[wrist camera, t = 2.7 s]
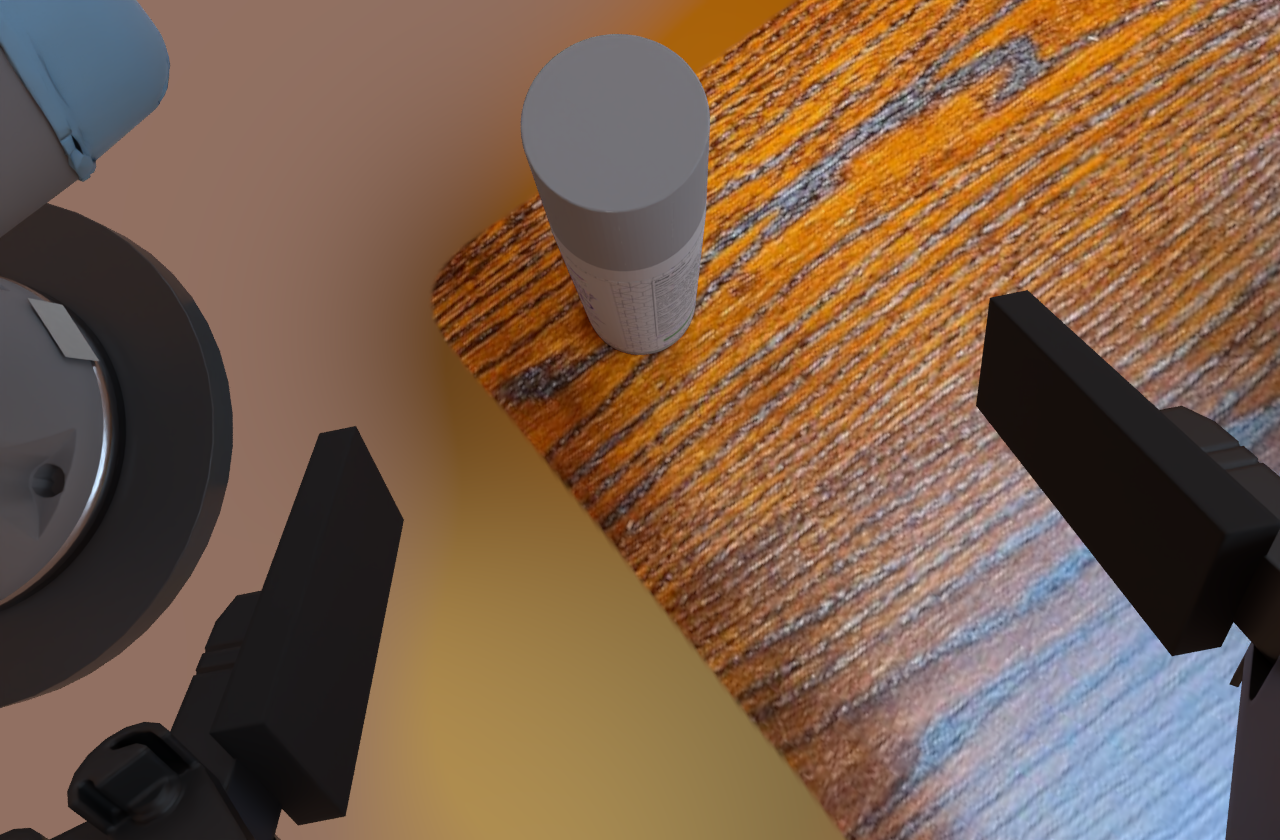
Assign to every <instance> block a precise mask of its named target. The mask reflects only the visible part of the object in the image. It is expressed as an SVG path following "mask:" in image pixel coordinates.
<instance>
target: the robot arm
mask: <svg viewBox="0 0 1280 840" xmlns="http://www.w3.org/2000/svg"><path fill="white" fill-rule="evenodd" d="M169 69H170V62H169V56H168V53H167V49H166V46H165V43H164V40H163V38H162V36H161V34H160V32H159V31H158V29H157V28H156V26H155V25H154V23H153V22H152V21H151V19H150V18H149V16H148V15H147V14H146V12H145V11H144V10H143V8H142V7H141V6H140V5H139V3H138V2H137V1H136V0H0V238H1V237H2V236H3V235H5V234H6V233H7V232H9V231H10V230H11V229H13V228H14V227H15V226H17V225H18V224H19V223H21V222H22V221H23V220H25V219H26V218H27V217H29V216H30V215H31V214H33V213H34V212H35V211H37V210H38V209H39V208H41V207H42V206H43V205H45V204H46V203H47V202H49V201H50V200H51V199H53V198H54V197H55V196H57V195H58V194H59V193H60V192H62V191H63V190H64V189H66V188H67V187H69V186H70V185H71V184H72V183H74V182H75V181H76V180H80V181H85V180H87V179H88V178H90V174H91V173H93V172H94V171H95V168H96V160H97V159H98V158H99V157H100V156H102V155H103V154H104V153H105V152H106V151H107V150H109V149H110V148H111V147H112V146H113V145H114V144H115V143H117V142H118V141H119V140H120V139H121V138H123V137H124V136H125V135H126V134H127V133H128V132H130V131H131V130H132V129H133V128H134V127H135V126H136V125H138V124H139V123H140V122H141V121H142V120H143V119H145V118H146V117H147V116H148V115H149V114H150V113H152V112H153V111H154V110H155V109H156V108H157V107H158V105H159V104H160V101H161V100H162V98H163V97H164V95H165V93H166V90H167V88H168V79H169ZM976 406H977V407H978V409H979V410H980V411H981V412H982V414H983V415H984V416H985V418H986V419H987V420H988V421H989V423H990V424H991V425H992V427H993V428H994V429H995V430H996V432H997V433H998V434H999V435H1000V437H1001V438H1002V439H1003V441H1004V442H1005V443H1006V444H1007V446H1008V447H1009V448H1010V450H1011V451H1012V452H1013V453H1014V455H1015V456H1016V457H1017V459H1018V460H1019V461H1020V462H1021V464H1022V465H1023V466H1024V467H1025V469H1026V470H1027V471H1028V473H1029V474H1030V475H1031V476H1032V478H1033V479H1034V480H1035V482H1036V483H1037V484H1038V485H1039V487H1040V488H1041V489H1042V491H1043V492H1044V493H1045V494H1046V496H1047V497H1048V498H1049V499H1050V501H1051V502H1052V503H1053V505H1054V506H1055V507H1056V508H1057V510H1058V511H1059V512H1060V514H1061V515H1062V516H1063V517H1064V519H1065V520H1066V521H1067V523H1068V524H1069V525H1070V526H1071V528H1072V529H1073V530H1074V531H1075V533H1076V534H1077V535H1078V537H1079V538H1080V539H1081V540H1082V542H1083V543H1084V544H1085V546H1086V547H1087V548H1088V549H1089V551H1090V552H1091V553H1092V555H1093V556H1094V557H1095V558H1096V560H1097V561H1098V562H1099V563H1100V565H1101V566H1102V567H1103V569H1104V570H1105V571H1106V572H1107V574H1108V575H1109V576H1110V578H1111V579H1112V580H1113V581H1114V583H1115V584H1116V585H1117V587H1118V588H1119V589H1120V590H1121V592H1122V593H1123V594H1124V595H1125V597H1126V598H1127V599H1128V601H1129V602H1130V603H1131V604H1132V606H1133V607H1134V608H1135V610H1136V611H1137V612H1138V613H1139V615H1140V616H1141V617H1142V619H1143V620H1144V621H1145V622H1146V624H1147V625H1148V626H1149V627H1150V629H1151V630H1152V631H1153V633H1154V634H1155V635H1156V636H1157V638H1158V639H1159V640H1160V642H1161V643H1162V644H1163V645H1164V647H1165V648H1166V649H1167V651H1168V652H1169V653H1170V654H1171V656H1176V655H1181V654H1186V653H1191V652H1197V651H1202V650H1207V649H1212V648H1217V647H1221V646H1222V644H1223V642H1224V640H1225V638H1226V636H1227V634H1228V632H1229V630H1230V628H1231V626H1232V624H1233V622H1234V623H1235V624H1236V625H1237V626H1238V627H1239V629H1240V630H1241V631H1242V632H1243V633H1244V634H1245V635H1246V636H1247V637H1248V639H1249V640H1250V641H1251V644H1250V645H1249V647H1248V649H1247V651H1246V653H1245V655H1244V657H1243V659H1242V660H1241V662H1240V664H1239V666H1238V668H1237V670H1236V672H1235V673H1234V676H1233V678H1232V680H1231V682H1230V685H1233V686H1236V687H1239V685H1240V683H1241V681H1242V687H1241V697H1240V706H1239V716H1238V725H1237V735H1236V744H1235V754H1234V763H1233V773H1232V782H1231V792H1230V801H1229V810H1228V820H1227V829H1226V839H1225V840H1280V477H1279V476H1278V475H1277V474H1276V473H1275V472H1274V471H1272V470H1271V469H1270V468H1269V467H1268V466H1267V465H1265V464H1264V463H1259V462H1258V458H1257V457H1256V456H1255V455H1254V454H1252V453H1251V452H1250V451H1249V450H1248V449H1247V448H1245V447H1244V446H1239V442H1238V441H1237V440H1236V439H1235V438H1234V437H1233V436H1231V435H1230V434H1229V433H1228V432H1227V431H1225V430H1224V429H1223V428H1222V427H1221V426H1220V425H1218V424H1217V423H1216V422H1215V421H1213V420H1211V419H1209V418H1207V417H1204V416H1202V415H1200V414H1198V413H1196V412H1194V411H1192V410H1190V409H1188V408H1185V407H1183V406H1178V407H1173V408H1168V409H1163V410H1158V409H1157V408H1156V407H1155V406H1154V405H1153V404H1152V403H1151V402H1150V401H1149V400H1147V399H1146V398H1145V397H1144V396H1143V395H1142V394H1141V393H1140V392H1139V391H1138V390H1137V389H1135V388H1134V387H1133V386H1132V385H1131V384H1130V383H1129V382H1128V381H1127V380H1126V379H1124V378H1123V377H1122V376H1121V375H1120V374H1119V373H1118V372H1117V371H1116V370H1115V369H1113V368H1112V367H1111V366H1110V365H1109V364H1108V363H1107V362H1106V361H1105V360H1104V359H1102V358H1101V357H1100V356H1099V355H1098V354H1097V353H1096V352H1095V351H1094V350H1093V349H1091V348H1090V347H1089V346H1088V345H1087V344H1086V343H1085V342H1084V341H1083V340H1082V339H1081V338H1079V337H1078V336H1077V335H1076V334H1075V333H1074V332H1073V331H1072V330H1071V329H1070V328H1068V327H1067V326H1066V325H1065V324H1064V323H1063V322H1062V321H1061V320H1060V319H1059V318H1057V317H1056V316H1055V315H1054V314H1053V313H1052V312H1051V311H1050V310H1049V309H1048V308H1046V307H1045V306H1044V305H1043V304H1042V303H1041V302H1040V301H1039V300H1038V299H1037V298H1036V297H1034V296H1033V295H1032V294H1031V293H1030V292H1029V291H1028V290H1026V291H1021V292H1016V293H1011V294H1006V295H1002V296H997V297H992V298H990V301H989V309H988V317H987V325H986V333H985V340H984V348H983V356H982V364H981V371H980V379H979V387H978V395H977V402H976ZM125 443H126V417H125V407H124V401H123V396H122V391H121V387H120V384H119V380H118V377H117V374H116V371H115V369H114V367H113V364H112V362H111V360H110V358H109V356H108V354H107V352H106V350H105V349H104V347H103V345H102V344H101V342H100V341H99V339H98V338H97V337H96V335H95V334H94V332H93V331H92V330H91V329H90V328H89V327H88V325H87V324H86V323H85V322H84V321H83V320H82V319H81V318H80V317H79V316H78V315H77V314H75V313H74V312H73V311H72V310H71V309H70V308H68V307H67V306H65V305H64V304H63V303H61V302H60V301H58V300H57V299H55V298H53V297H51V296H50V295H48V294H46V293H44V292H42V291H39V290H37V289H35V288H32V287H30V286H27V285H24V284H22V283H19V282H16V281H13V280H10V279H8V278H4V277H1V276H0V611H3V610H5V609H8V608H10V607H12V606H14V605H16V604H18V603H20V602H22V601H24V600H26V599H27V598H29V597H31V596H32V595H34V594H35V593H37V592H38V591H40V590H41V589H43V588H44V587H45V586H47V585H48V584H49V583H50V582H52V581H53V580H54V579H56V578H57V577H58V576H59V575H60V574H61V573H62V572H63V571H64V570H65V569H66V568H67V567H68V566H70V564H71V563H72V562H73V561H74V560H75V559H76V558H77V557H78V555H79V554H80V553H81V552H82V551H83V549H84V548H85V547H86V545H87V544H88V543H89V541H90V540H91V539H92V537H93V536H94V534H95V532H96V531H97V529H98V527H99V526H100V524H101V523H102V521H103V519H104V517H105V515H106V513H107V511H108V509H109V507H110V504H111V502H112V499H113V496H114V494H115V491H116V488H117V485H118V481H119V478H120V475H121V470H122V465H123V460H124V454H125ZM403 521H404V519H403V517H402V515H401V514H400V512H399V510H398V508H397V506H396V504H395V502H394V500H393V498H392V496H391V494H390V492H389V490H388V488H387V486H386V484H385V482H384V480H383V478H382V476H381V474H380V472H379V470H378V468H377V467H376V464H375V463H374V461H373V459H372V457H371V455H370V453H369V451H368V449H367V447H366V445H365V443H364V441H363V439H362V437H361V435H360V433H359V431H358V429H357V427H356V426H354V427H349V428H345V429H339V430H334V431H329V432H324V433H320V434H319V436H318V439H317V442H316V444H315V447H314V450H313V453H312V455H311V458H310V461H309V463H308V466H307V469H306V471H305V474H304V477H303V480H302V483H301V485H300V488H299V491H298V493H297V496H296V499H295V501H294V504H293V507H292V510H291V512H290V515H289V518H288V521H287V523H286V526H285V528H284V531H283V534H282V537H281V539H280V542H279V545H278V548H277V550H276V553H275V556H274V558H273V561H272V564H271V566H270V570H269V572H268V574H267V577H266V580H265V583H264V585H263V589H262V591H257V592H252V593H247V594H243V595H237V596H236V597H235V599H234V600H233V601H232V602H231V603H230V605H229V606H228V607H227V608H226V610H225V611H224V612H223V613H222V614H221V616H220V617H219V618H218V619H217V621H216V622H215V625H214V627H213V629H212V632H211V634H210V637H209V639H208V642H207V644H206V646H205V653H203V654H202V656H201V659H200V661H199V663H198V666H197V668H196V672H197V673H196V675H194V676H193V678H192V680H191V683H190V685H189V688H188V690H187V692H186V695H185V697H184V700H183V702H182V705H181V707H180V709H179V712H178V714H177V717H176V719H175V721H174V724H173V726H172V729H171V731H168V730H167V729H166V728H165V727H164V726H162V725H161V724H160V723H150V722H143V723H139V724H136V725H132V726H129V727H126V728H124V729H122V730H120V731H119V732H117V733H115V734H113V735H112V736H110V737H108V738H107V739H105V740H104V741H103V742H102V743H101V744H100V745H99V746H98V747H96V748H95V749H94V750H93V751H92V752H91V753H90V754H89V755H88V756H87V757H86V759H85V760H84V761H83V763H82V764H81V765H80V767H79V768H78V769H77V771H76V772H75V773H74V776H73V778H72V781H71V783H70V786H69V789H68V791H67V794H68V807H69V808H71V809H72V810H73V811H74V812H76V813H77V814H78V815H80V816H81V817H82V818H84V819H85V820H87V822H85V823H83V824H80V825H78V826H76V827H74V828H72V829H71V830H68V831H66V832H64V833H62V834H61V835H58V836H56V837H54V838H52V839H50V840H280V839H279V838H278V837H277V836H276V835H275V832H276V828H277V824H278V820H279V817H280V813H281V809H283V810H284V811H285V812H286V813H287V814H288V815H289V817H291V819H293V821H294V822H295V823H296V824H297V825H303V824H308V823H313V822H318V821H323V820H329V819H334V818H339V817H344V816H346V810H347V806H348V800H349V795H350V790H351V785H352V780H353V775H354V770H355V764H356V760H357V755H358V750H359V744H360V740H361V735H362V729H363V724H364V719H365V714H366V709H367V704H368V699H369V694H370V688H371V684H372V678H373V674H374V669H375V663H376V658H377V653H378V648H379V643H380V638H381V633H382V627H383V623H384V618H385V612H386V608H387V603H388V597H389V592H390V587H391V582H392V577H393V572H394V567H395V562H396V557H397V552H398V547H399V542H400V537H401V532H402V526H403ZM0 840H49V839H47V838H45V837H44V836H43V835H41V834H40V833H38V832H36V831H35V830H33V829H31V828H23V829H13V830H11V831H8V832H6V833H3V834H1V835H0Z"/></svg>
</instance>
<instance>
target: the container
mask: <svg viewBox="0 0 1280 840" xmlns="http://www.w3.org/2000/svg"><path fill="white" fill-rule="evenodd" d="M709 131H710V113H709V106H708V102H707V98H706V95H705V92H704V89H703V87H702V85H701V83H700V81H699V79H698V77H697V76H696V74H695V73H694V72H693V70H692V69H691V68H690V67H689V65H688V64H687V63H686V62H685V61H684V60H683V59H682V58H681V57H679V56H678V55H677V54H676V53H674V52H673V51H672V50H670V49H668V48H667V47H665V46H663V45H661V44H660V43H657V42H655V41H652V40H649V39H647V38H643V37H639V36H634V35H624V34H610V35H601V36H597V37H592V38H589V39H586V40H583V41H580V42H578V43H576V44H573V45H571V46H570V47H568V48H566V49H565V50H563V51H561V52H560V53H559V54H557V55H556V56H555V57H553V58H552V59H551V60H550V61H549V62H548V63H547V64H546V65H545V66H544V67H543V68H542V70H541V71H540V73H538V75H537V76H536V78H535V79H534V81H533V83H532V84H531V86H530V88H529V91H528V93H527V95H526V98H525V101H524V104H523V110H522V114H521V138H522V143H523V147H524V151H525V154H526V157H527V160H528V163H529V166H530V168H531V171H532V174H533V177H534V180H535V183H536V186H537V189H538V192H539V194H540V197H541V200H542V203H543V206H544V209H545V212H546V215H547V218H548V221H549V223H550V226H551V230H552V233H553V235H554V238H555V240H556V243H557V245H558V247H559V250H560V252H561V254H562V257H563V259H564V262H565V264H566V266H567V269H568V271H569V273H570V276H571V278H572V280H573V283H574V285H575V287H576V290H577V292H578V295H579V297H580V299H581V302H582V304H583V306H584V309H585V311H586V313H587V316H588V318H589V320H590V323H591V324H592V326H593V328H594V330H595V331H596V333H597V334H598V335H599V337H600V338H601V339H602V340H603V341H604V342H606V343H607V344H608V345H610V346H611V347H613V348H615V349H617V350H619V351H622V352H625V353H629V354H635V355H645V354H652V353H656V352H659V351H661V350H664V349H666V348H668V347H669V346H671V345H673V344H674V343H675V342H676V341H678V340H679V339H680V338H681V337H682V335H683V334H684V333H685V331H686V330H687V328H688V327H689V325H690V323H691V320H692V318H693V314H694V310H695V303H696V295H697V286H698V277H699V268H700V260H701V251H702V242H703V233H704V225H705V216H706V197H707V175H708V153H709Z"/></svg>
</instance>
